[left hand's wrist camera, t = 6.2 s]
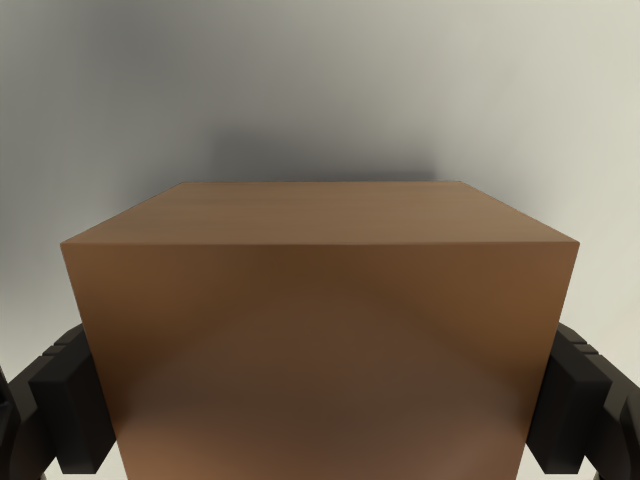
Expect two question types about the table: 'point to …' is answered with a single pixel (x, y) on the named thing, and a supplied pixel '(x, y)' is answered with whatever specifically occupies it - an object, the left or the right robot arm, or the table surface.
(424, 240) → the slab
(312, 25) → the table surface
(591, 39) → the table surface
